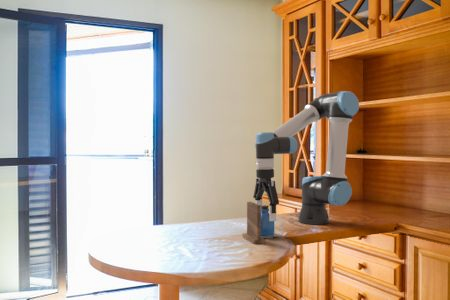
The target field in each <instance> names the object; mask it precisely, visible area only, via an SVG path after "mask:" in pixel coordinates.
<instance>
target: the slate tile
mask: <svg viewBox="0 0 450 300" xmlns="http://www.w3.org/2000/svg"><path fill="white" fill-rule="evenodd" d="M261 237H262V238H266V239H274V238H273V237H278V238H280V235H279V234H277V233H275V232H274V235H268V236H261Z"/></svg>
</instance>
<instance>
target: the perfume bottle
mask: <svg viewBox="0 0 450 300" xmlns="http://www.w3.org/2000/svg"><path fill="white" fill-rule="evenodd" d="M274 233H275V221H270V216H269V205H267V204H266V205H264V204H262V206H261V236H268V235H274Z"/></svg>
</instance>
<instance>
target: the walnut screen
mask: <svg viewBox="0 0 450 300" xmlns="http://www.w3.org/2000/svg"><path fill="white" fill-rule="evenodd" d="M241 237H242V238H243V239H245V240H246V241H248V242H250V243H252V244H254V245H260V244H259V243H261V244H266V239H267V238H266V239H264V238H262V237H261V205H258V204H256V202H252V201H247V202H246V233H242V236H241Z"/></svg>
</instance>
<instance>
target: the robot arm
mask: <svg viewBox="0 0 450 300" xmlns="http://www.w3.org/2000/svg"><path fill="white" fill-rule="evenodd" d="M303 108H304V109H303V110H301V111H300V112H299V113H297V114H296V115H294V116H293V117H292V118H290V119H288V120H287V121H286V122H284V123H282V124H281V125H279V126H278V127H277V128H276V129H274V130H273V131H272V132H269V131H267V132H257V133H256V136H255V137H256V138H255V143H254V147H255V156H256V157H255V159H256V161H255V164H256V165H255V167H256V168H257V169H256V171H255V173H256V174H255V175H256V179H255V187H254V191H253V198H254V200H255V203H256V204H258V205H261V206H263V196H264V193H266V196H267V199H268V202H269V204H268V209H269V211H268V213H269V216H270V221H274V222H276V221H277V205H279V204H280V201H279V197H278V192H277V187H276V181H275V180H272V179H273V178H274V177H275V169H274V168H275V155H286V154H287V155H289V154H294V153H296V151H297V149H298V141H297V139H296V138H295V137H294V136H295V135H297V134H299V132H301V131H302V130H303V129H305V128H307V127H308V126H309V125H311V124H312V123H313V122H314V123H316V122H318V121H319V120H322V119H327V121H328V122H329V132H328V143H327V144H328V146H327V156H326V157H327V158H326V167H325V172H324V173H323V174H322V175H319V176H318V175H316V176H315V175H314V176H305V177H303V178H302V181H301V208H300V211H299V215H298V218H297V220H298V222H299V223H301V224H306V225H327V224H329V223H330V218H329V214H328V211H327V207H326V204H327V205H331V206H337V207H338V206H340V207H341V206H344V205H346V204H347V203H348V202H349V201H350V199H351V197H352V195H353V188H352V186H351V185H352V184H351V183H349V182H348V177H347V175H346V173H345V172H346V161H347V150H348V149H347V148H348V147H347V146H348V138H349V125H350V123H351V122H352V121H353V119H354V118H353V117H354V116H355V115H356V114H357V113H358V112H359V109H360V101H359V99H358V97H357V96H356V94H355V93H353V92H352V91H349V90H346V91H345V90H341V91H337V92H336V91H335V92H329V93H324V94H322V95H320V96H318V97H316V98H315V99H313V100H312V101H310V102H309V103H308V104H306V105H305V106H304V107H303Z"/></svg>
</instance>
